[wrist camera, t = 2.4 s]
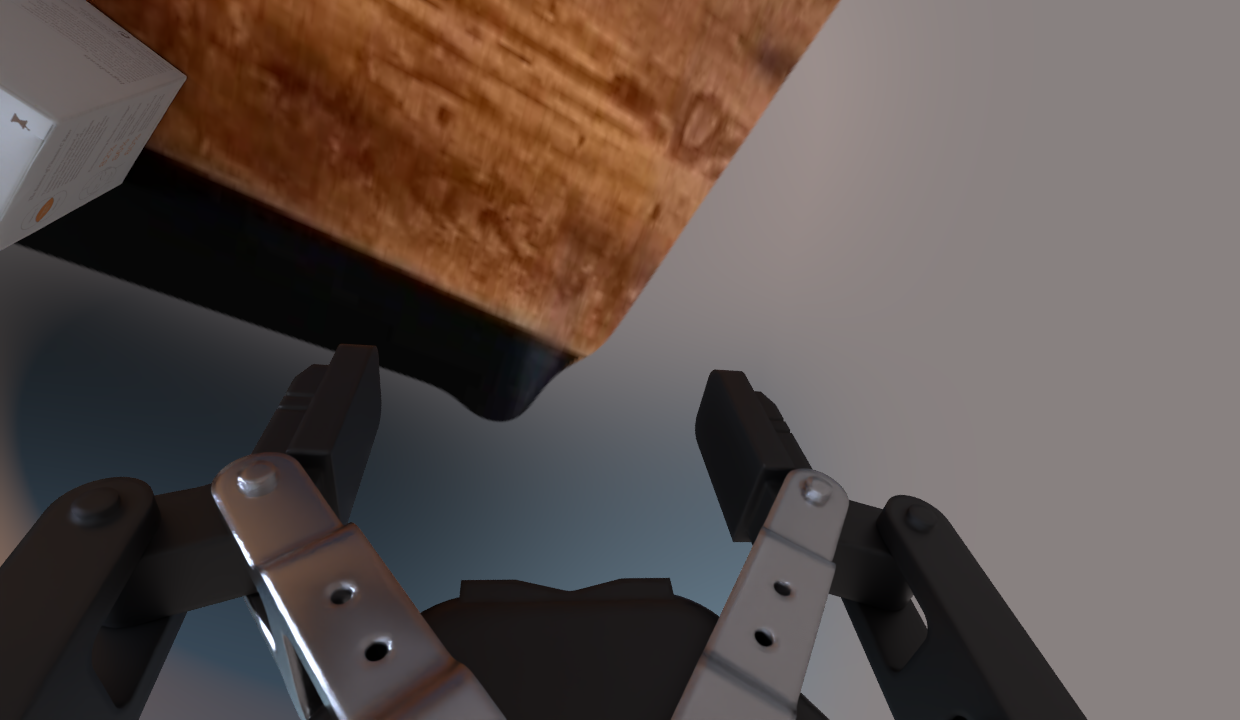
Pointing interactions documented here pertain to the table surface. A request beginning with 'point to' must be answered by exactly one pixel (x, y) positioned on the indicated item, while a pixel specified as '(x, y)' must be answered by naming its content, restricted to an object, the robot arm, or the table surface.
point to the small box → (70, 108)
